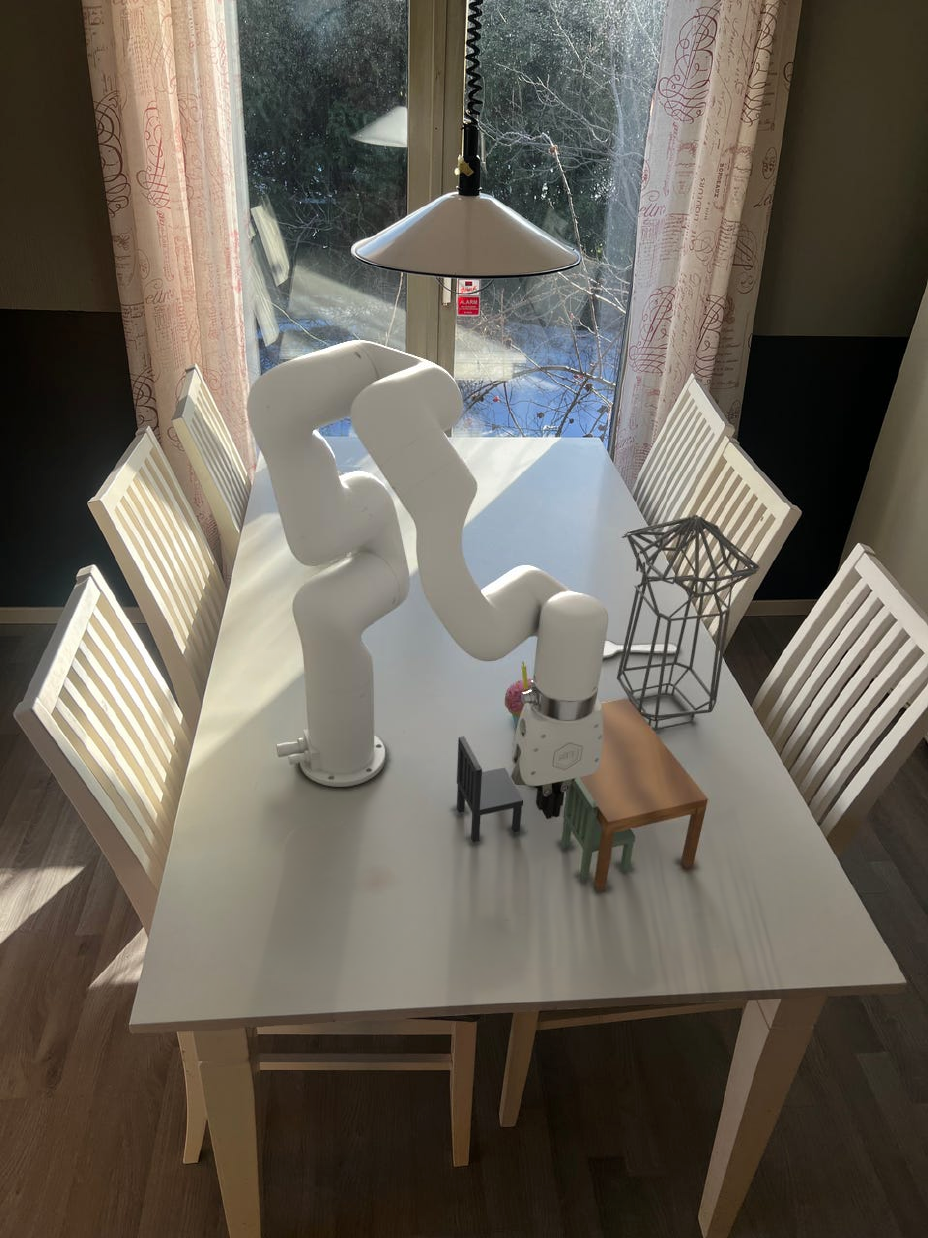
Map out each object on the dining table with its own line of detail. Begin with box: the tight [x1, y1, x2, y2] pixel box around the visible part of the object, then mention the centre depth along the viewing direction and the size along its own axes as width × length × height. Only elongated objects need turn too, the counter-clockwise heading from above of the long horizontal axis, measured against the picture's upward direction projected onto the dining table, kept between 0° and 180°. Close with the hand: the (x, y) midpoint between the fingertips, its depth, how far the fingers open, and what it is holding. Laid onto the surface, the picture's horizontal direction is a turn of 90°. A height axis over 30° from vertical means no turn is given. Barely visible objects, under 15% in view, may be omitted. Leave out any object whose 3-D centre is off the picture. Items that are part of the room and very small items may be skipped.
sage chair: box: [560, 778, 637, 881], centre depth 128 cm, size 7×7×13 cm
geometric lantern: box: [616, 513, 761, 731], centre depth 149 cm, size 16×16×35 cm
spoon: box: [603, 639, 677, 659], centre depth 173 cm, size 5×18×1 cm, turn 92°
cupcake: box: [504, 660, 533, 727], centre depth 152 cm, size 9×8×12 cm
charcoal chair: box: [456, 735, 524, 843], centre depth 133 cm, size 7×7×13 cm
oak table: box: [579, 697, 709, 892], centre depth 134 cm, size 14×22×12 cm, turn 19°
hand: (548, 810), depth 124 cm, fingers closed
